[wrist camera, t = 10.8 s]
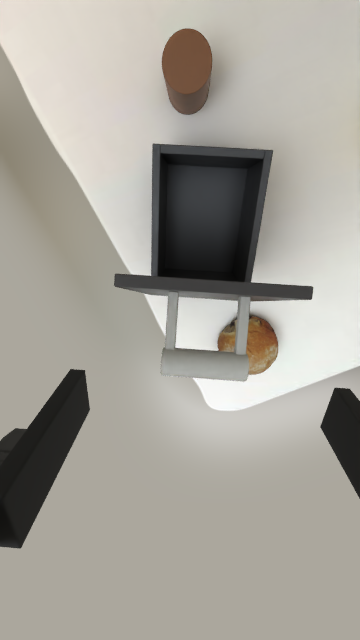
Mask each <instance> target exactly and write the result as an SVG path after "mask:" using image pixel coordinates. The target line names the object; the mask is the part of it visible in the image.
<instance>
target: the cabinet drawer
mask: <svg viewBox="0 0 360 640" xmlns="http://www.w3.org/2000/svg"><path fill="white" fill-rule="evenodd" d="M114 285H115V287H119V288H123V289H128V290H132V291H137V292H141V293H145V294H149V295H161V296H168V308H167V323H166V339H165V347H164V348H163V351H162V359H161V375H165V376H178V377H192V378H205V379H219V380H232V381H246V380H247V378H248V373H249V359H248V355H247V354H246V346H247V334H248V322H249V310H250V301H279V300H311V299H312V294H313V287H312V286H297V285H281V284H266V283H251V282H235V281H220V280H205V279H190V278H174V277H159V276H144V275H127V274H115V283H114ZM178 297H191V298H205V299H220V300H235V301H238V312H237V325H236V337H235V349H234V352H224V351H209V350H195V349H181V348H175V342H176V327H177V312H178Z"/></svg>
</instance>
